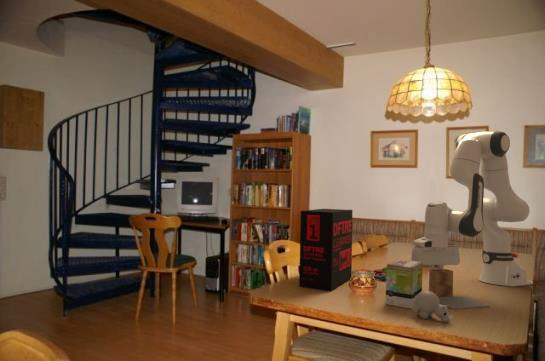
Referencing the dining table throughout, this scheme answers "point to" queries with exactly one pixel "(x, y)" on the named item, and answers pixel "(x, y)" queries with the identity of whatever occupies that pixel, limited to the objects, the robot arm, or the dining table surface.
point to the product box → (325, 248)
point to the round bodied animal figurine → (430, 306)
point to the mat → (460, 302)
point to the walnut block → (441, 282)
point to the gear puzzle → (380, 274)
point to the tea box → (403, 282)
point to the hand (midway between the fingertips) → (435, 276)
